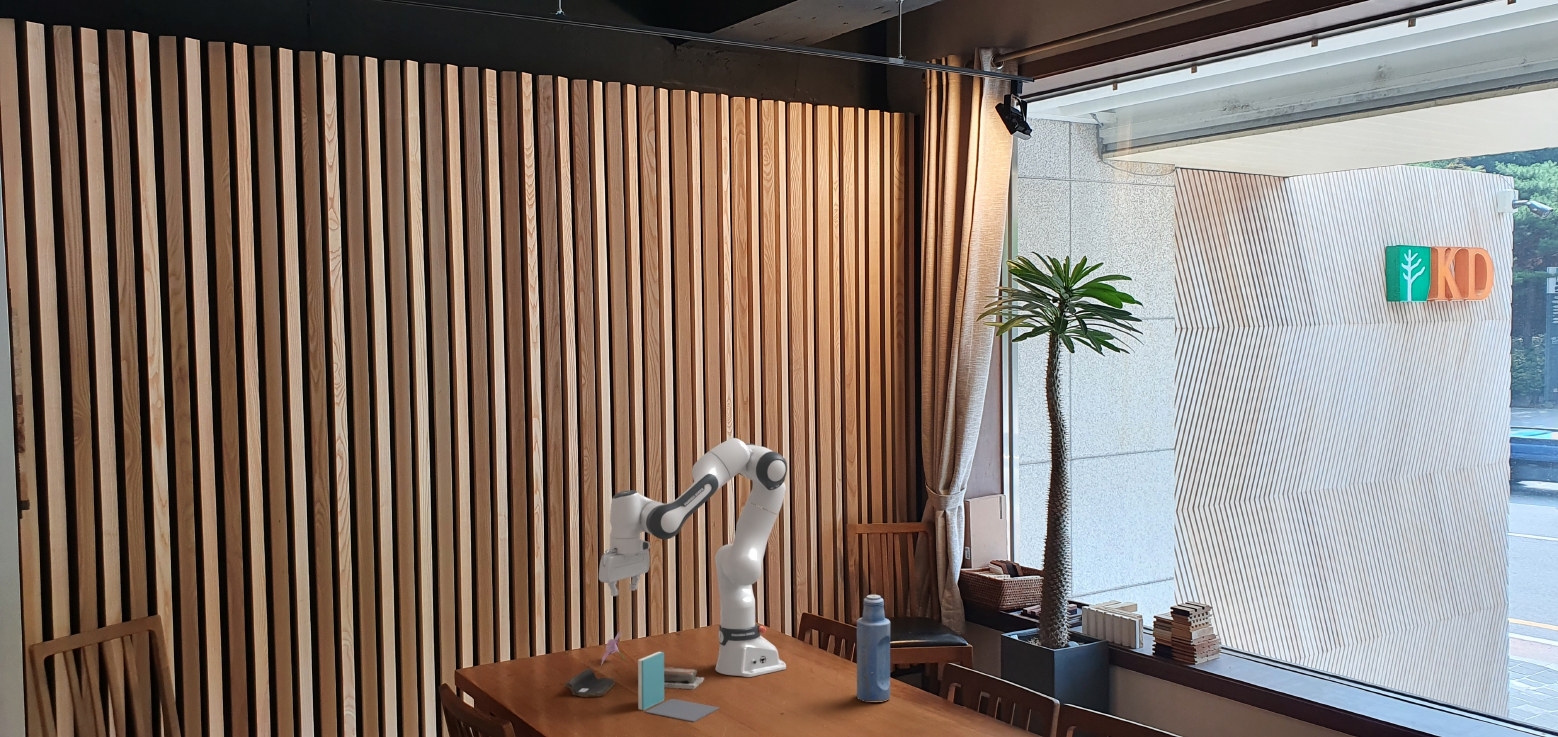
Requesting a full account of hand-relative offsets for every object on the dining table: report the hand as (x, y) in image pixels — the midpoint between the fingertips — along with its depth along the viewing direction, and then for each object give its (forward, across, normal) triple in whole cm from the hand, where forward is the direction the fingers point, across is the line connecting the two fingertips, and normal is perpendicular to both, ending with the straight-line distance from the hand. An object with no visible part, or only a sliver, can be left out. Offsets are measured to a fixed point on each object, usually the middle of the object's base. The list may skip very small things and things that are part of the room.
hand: (624, 592), depth 323 cm
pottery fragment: (+31, -2, +11) cm, 32 cm away
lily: (+30, +26, +24) cm, 47 cm away
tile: (+30, -4, -13) cm, 33 cm away
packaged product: (+30, +16, -6) cm, 35 cm away
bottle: (+29, +32, -67) cm, 79 cm away
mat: (+30, -4, -24) cm, 38 cm away
